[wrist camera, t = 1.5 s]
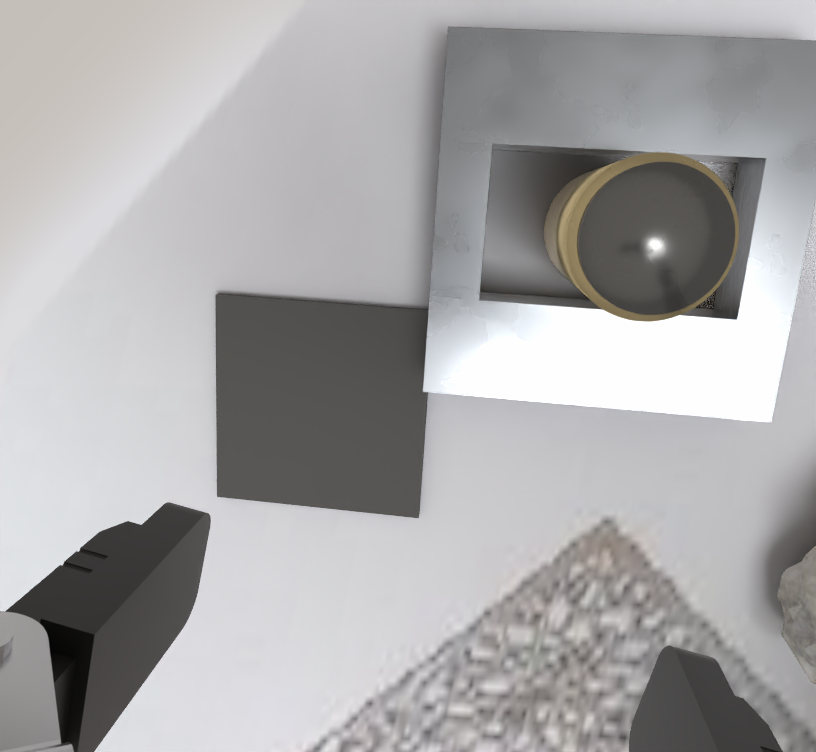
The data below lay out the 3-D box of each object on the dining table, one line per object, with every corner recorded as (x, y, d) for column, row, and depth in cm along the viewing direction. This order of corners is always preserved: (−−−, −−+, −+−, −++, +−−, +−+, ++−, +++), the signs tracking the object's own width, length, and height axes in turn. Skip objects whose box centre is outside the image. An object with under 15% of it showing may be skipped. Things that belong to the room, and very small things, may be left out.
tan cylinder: (672, 172, 29) (761, 155, 19) (655, 292, 30) (730, 331, 20) (550, 165, 29) (579, 145, 20) (537, 284, 30) (559, 318, 21)
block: (808, 59, 27) (847, 41, 24) (744, 402, 30) (771, 422, 27) (452, 45, 28) (448, 26, 25) (428, 374, 32) (423, 391, 29)
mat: (433, 310, 31) (432, 311, 31) (419, 514, 33) (418, 518, 33) (218, 293, 32) (215, 294, 32) (220, 493, 34) (217, 496, 34)
